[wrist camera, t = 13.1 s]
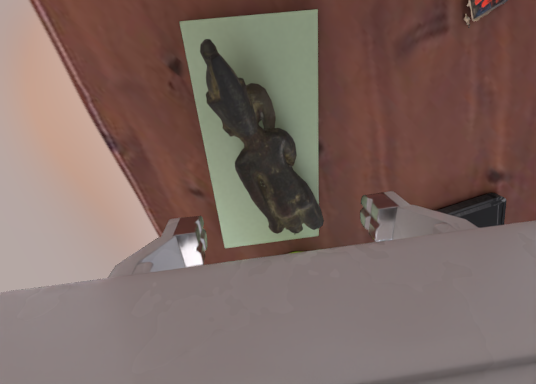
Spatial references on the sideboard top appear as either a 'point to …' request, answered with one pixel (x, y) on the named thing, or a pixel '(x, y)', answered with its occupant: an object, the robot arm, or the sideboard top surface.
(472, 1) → the matchbox
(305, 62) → the board
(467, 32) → the sideboard top surface
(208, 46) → the statue
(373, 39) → the sideboard top surface
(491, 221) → the phone
